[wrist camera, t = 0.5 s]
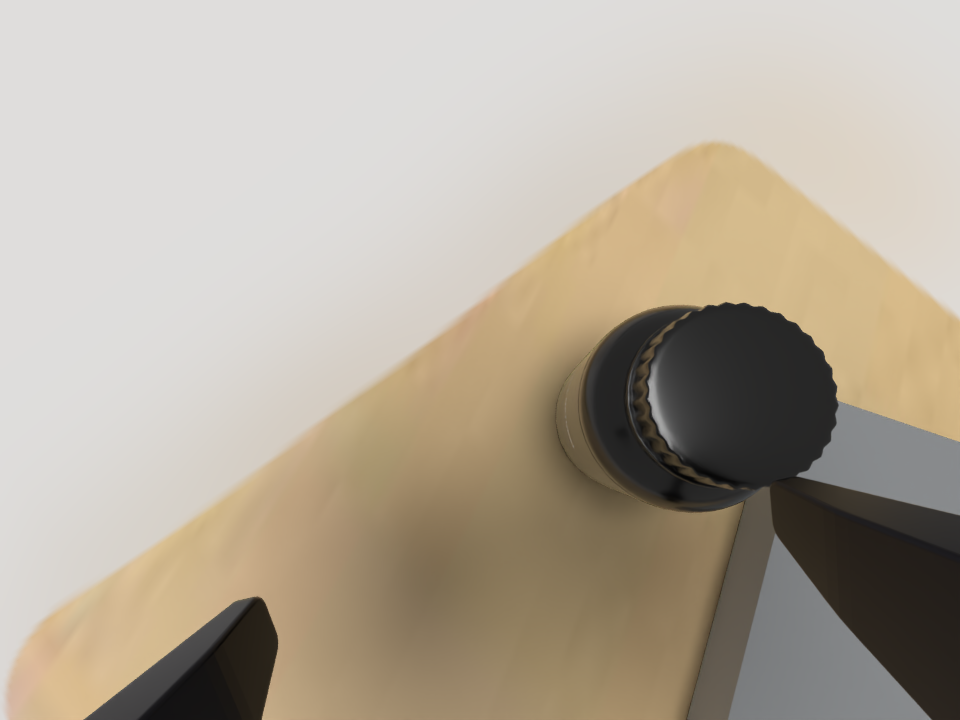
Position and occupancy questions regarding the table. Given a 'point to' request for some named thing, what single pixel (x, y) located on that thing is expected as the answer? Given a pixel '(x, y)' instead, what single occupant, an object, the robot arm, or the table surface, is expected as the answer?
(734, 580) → the riser block
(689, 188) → the table surface
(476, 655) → the table surface
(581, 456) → the supplement bottle
